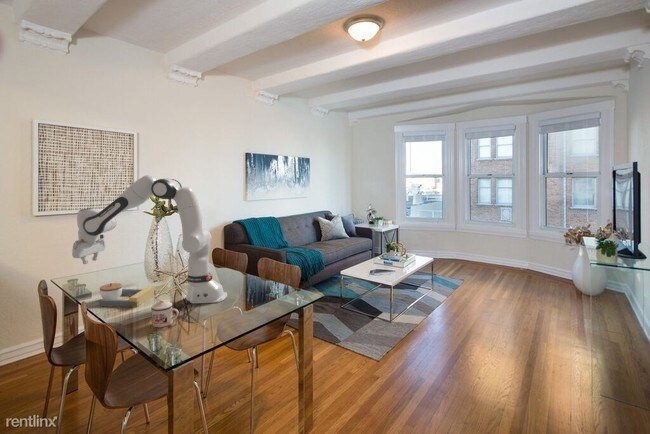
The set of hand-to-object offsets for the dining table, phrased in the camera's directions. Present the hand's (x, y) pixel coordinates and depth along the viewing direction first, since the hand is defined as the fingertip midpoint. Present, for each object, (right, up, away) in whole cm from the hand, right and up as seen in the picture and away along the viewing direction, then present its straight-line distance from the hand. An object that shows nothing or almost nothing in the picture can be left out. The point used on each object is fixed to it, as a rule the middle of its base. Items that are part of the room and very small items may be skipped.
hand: (90, 262), depth 186 cm
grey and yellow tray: (+20, -22, +2) cm, 29 cm away
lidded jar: (+11, -22, +2) cm, 24 cm away
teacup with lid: (+54, -26, -26) cm, 66 cm away
